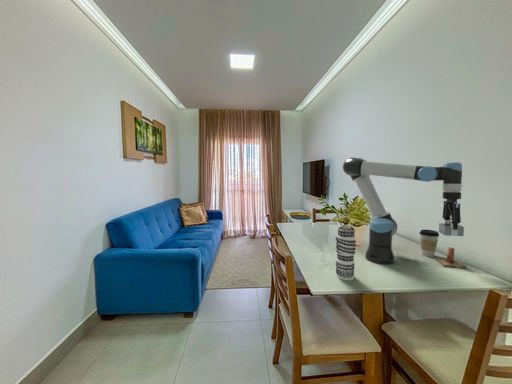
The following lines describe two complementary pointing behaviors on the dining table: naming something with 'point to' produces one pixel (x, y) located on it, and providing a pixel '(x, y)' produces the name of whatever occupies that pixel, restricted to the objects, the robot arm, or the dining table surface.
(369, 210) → the robot arm
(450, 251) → the keeper
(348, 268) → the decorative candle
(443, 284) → the dining table surface
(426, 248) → the coffee cup
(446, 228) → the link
